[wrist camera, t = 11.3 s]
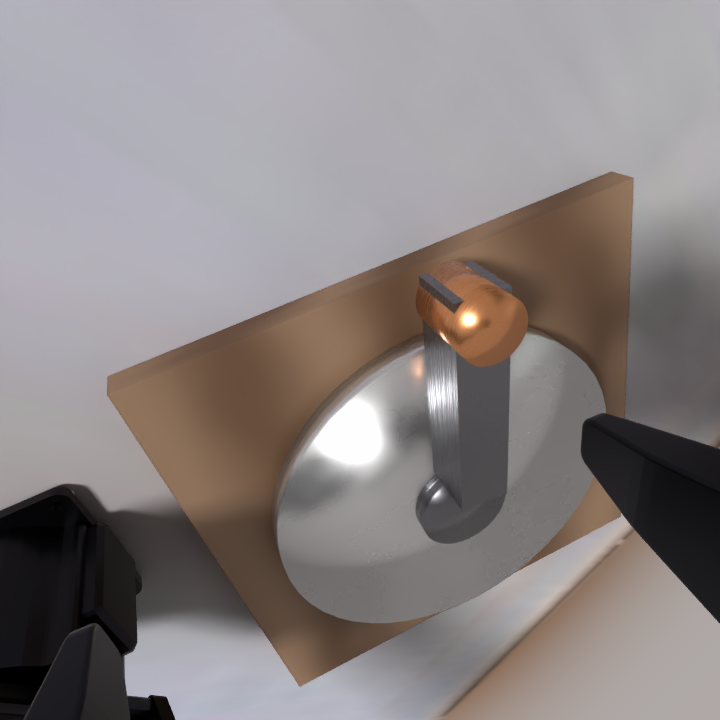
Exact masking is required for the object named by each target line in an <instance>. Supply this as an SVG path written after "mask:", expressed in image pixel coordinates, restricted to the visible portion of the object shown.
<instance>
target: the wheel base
mask: <svg viewBox="0 0 720 720" xmlns="http://www.w3.org/2000/svg"><path fill="white" fill-rule="evenodd" d="M632 204H633V178H632V177H629V176H625V175H622V174H618V173H615V172H609V173H607V174H604V175H602V176H600V177H597V178H595V179H592V180H590V181H587V182H585V183H582V184H580V185H577V186H575V187H573V188H570V189H568V190H565V191H563V192H560V193H558V194H555V195H553V196H550V197H548V198H546V199H543V200H541V201H538V202H536V203H533V204H531V205H528V206H526V207H523V208H521V209H518V210H516V211H514V212H511V213H509V214H506V215H504V216H501V217H499V218H496V219H494V220H491V221H489V222H487V223H484V224H482V225H479V226H477V227H474V228H472V229H469V230H467V231H464V232H462V233H460V234H457V235H455V236H452V237H450V238H447V239H445V240H442V241H440V242H437V243H435V244H433V245H430V246H428V247H425V248H423V249H420V250H418V251H415V252H413V253H410V254H408V255H406V256H403V257H401V258H398V259H396V260H393V261H391V262H388V263H386V264H383V265H381V266H378V267H376V268H374V269H371V270H369V271H366V272H364V273H361V274H359V275H356V276H354V277H351V278H349V279H347V280H344V281H342V282H339V283H337V284H334V285H332V286H329V287H327V288H324V289H322V290H320V291H317V292H315V293H312V294H310V295H307V296H305V297H302V298H300V299H297V300H295V301H293V302H290V303H288V304H285V305H283V306H280V307H278V308H275V309H273V310H270V311H268V312H265V313H263V314H261V315H258V316H256V317H253V318H251V319H248V320H246V321H243V322H241V323H238V324H236V325H234V326H231V327H229V328H226V329H224V330H221V331H219V332H216V333H214V334H211V335H209V336H207V337H204V338H202V339H199V340H197V341H194V342H192V343H189V344H187V345H184V346H182V347H180V348H177V349H175V350H172V351H170V352H167V353H165V354H162V355H160V356H157V357H155V358H152V359H150V360H148V361H145V362H143V363H140V364H138V365H135V366H133V367H130V368H128V369H125V370H123V371H121V372H118V373H116V374H113V375H111V376H108V381H107V395H108V397H109V399H110V400H111V402H112V403H113V405H114V406H115V408H116V409H117V411H118V412H119V414H120V415H121V417H122V418H123V420H124V421H125V423H126V424H127V426H128V427H129V429H130V430H131V432H132V433H133V435H134V436H135V438H136V439H137V441H138V442H139V444H140V445H141V447H142V449H143V450H144V452H145V453H146V455H147V456H148V458H149V459H150V461H151V462H152V464H153V465H154V467H155V468H156V470H157V471H158V473H159V474H160V476H161V477H162V479H163V480H164V482H165V483H166V485H167V486H168V488H169V489H170V491H171V492H172V494H173V496H174V497H175V499H176V500H177V502H178V503H179V505H180V506H181V508H182V509H183V511H184V512H185V514H186V515H187V517H188V518H189V520H190V521H191V523H192V524H193V526H194V527H195V529H196V530H197V532H198V533H199V535H200V536H201V538H202V539H203V541H204V542H205V544H206V546H207V547H208V549H209V550H210V552H211V553H212V555H213V556H214V558H215V559H216V561H217V562H218V564H219V565H220V567H221V568H222V570H223V571H224V573H225V574H226V576H227V577H228V579H229V580H230V582H231V583H232V585H233V586H234V588H235V589H236V591H237V593H238V594H239V596H240V597H241V599H242V600H243V602H244V603H245V605H246V606H247V608H248V609H249V611H250V612H251V614H252V615H253V617H254V618H255V620H256V621H257V623H258V624H259V626H260V627H261V629H262V630H263V632H264V633H265V635H266V636H267V638H268V640H269V641H270V643H271V644H272V646H273V647H274V649H275V650H276V652H277V653H278V655H279V656H280V658H281V659H282V661H283V662H284V664H285V665H286V667H287V668H288V670H289V671H290V673H291V674H292V676H293V677H294V679H295V680H296V682H297V683H298V685H299V686H302V685H304V684H306V683H308V682H310V681H311V680H313V679H315V678H317V677H319V676H321V675H323V674H325V673H327V672H328V671H330V670H332V669H334V668H336V667H338V666H340V665H342V664H343V663H345V662H347V661H349V660H351V659H353V658H355V657H357V656H359V655H360V654H362V653H364V652H366V651H368V650H370V649H372V648H374V647H376V646H377V645H379V644H381V643H383V642H385V641H387V640H389V639H391V638H392V637H394V636H396V635H398V634H400V633H402V632H404V631H406V630H408V629H409V628H411V627H413V626H415V625H417V624H419V623H421V622H423V621H425V620H426V619H428V618H430V617H432V616H434V615H436V614H438V613H436V614H433V615H429V616H426V617H422V618H417V619H413V620H408V621H401V622H393V623H363V622H354V621H350V620H346V619H341V618H338V617H335V616H333V615H330V614H328V613H325V612H323V611H322V610H320V609H318V608H317V607H315V606H314V605H312V604H310V603H309V602H308V601H307V600H306V599H305V598H304V597H303V596H302V595H301V594H300V593H299V592H298V591H297V590H296V588H295V587H294V585H293V584H292V583H291V581H290V580H289V577H288V575H287V573H286V570H285V568H284V566H283V563H282V560H281V557H280V553H279V550H278V547H277V544H276V539H275V535H274V530H273V519H272V506H273V499H274V492H275V486H276V483H277V480H278V476H279V473H280V470H281V466H282V464H283V462H284V460H285V458H286V456H287V453H288V451H289V449H290V447H291V445H292V443H293V442H294V440H295V438H296V437H297V435H298V434H299V432H300V430H301V429H302V427H303V426H304V424H305V423H306V421H307V420H308V419H309V418H310V416H311V415H312V414H313V413H314V411H315V410H316V409H317V408H318V406H319V405H320V404H321V403H322V402H323V401H324V400H325V399H326V398H327V397H328V396H329V395H330V394H331V393H332V392H333V391H334V390H335V389H336V388H337V387H338V386H339V385H340V384H341V383H342V382H343V381H344V380H346V379H347V378H348V377H349V376H351V375H352V374H353V373H354V372H356V371H357V370H358V369H359V368H360V367H362V366H363V365H365V364H366V363H368V362H369V361H371V360H372V359H374V358H375V357H377V356H379V355H380V354H382V353H383V352H385V351H387V350H388V349H390V348H392V347H394V346H396V345H398V344H400V343H402V342H404V341H406V340H408V339H410V338H413V337H416V336H418V335H421V334H423V324H422V319H421V317H420V316H419V314H418V312H417V309H416V293H417V290H418V287H419V276H420V275H423V274H427V273H429V272H430V271H431V270H432V269H433V268H435V267H436V266H438V265H440V264H443V263H446V262H452V261H455V262H461V263H465V262H469V261H473V262H475V263H476V264H478V265H479V266H481V267H483V268H484V269H486V270H487V271H489V272H490V273H492V274H494V275H495V276H497V277H498V278H500V279H501V280H503V281H504V282H506V283H508V284H509V285H511V286H512V295H513V296H514V297H516V298H517V299H519V300H520V301H521V302H522V303H523V304H524V306H525V308H526V310H527V313H528V327H531V328H533V329H536V330H539V331H541V332H543V333H545V334H546V335H548V336H550V337H552V338H553V339H555V340H556V341H558V342H559V343H561V344H562V345H564V346H565V347H566V348H568V349H569V350H571V351H572V352H574V353H575V354H576V355H577V356H578V357H579V358H580V359H581V360H583V361H584V362H585V363H586V364H587V366H588V367H589V368H590V370H591V371H592V372H593V374H594V375H595V377H596V379H597V381H598V383H599V385H600V388H601V390H602V393H603V397H604V401H605V405H606V413H607V414H611V415H614V416H617V417H620V418H624V415H625V389H626V362H627V336H628V310H629V283H630V257H631V230H632ZM619 517H621V512H620V510H619V509H618V507H617V506H616V505H615V503H614V502H613V501H612V499H611V498H610V497H609V495H608V494H607V493H606V491H605V490H604V489H603V487H602V486H601V485H600V483H599V482H598V480H597V479H596V478H595V476H594V477H593V479H592V481H591V484H590V486H589V488H588V490H587V491H586V493H585V495H584V497H583V498H582V500H581V502H580V504H579V505H578V506H577V508H576V509H575V511H574V512H573V514H572V515H571V517H570V518H569V519H568V521H567V522H566V523H565V524H564V526H563V527H562V528H561V529H560V530H559V532H558V533H557V534H556V535H555V536H554V537H553V538H552V539H551V540H550V541H549V543H548V544H547V545H546V546H545V547H544V548H543V549H542V550H541V551H540V552H538V553H537V554H536V555H535V556H534V557H533V558H532V559H531V560H530V561H529V562H527V563H526V564H525V565H524V566H522V567H521V568H520V569H518V570H517V571H519V570H521V569H523V568H524V567H526V566H528V565H530V564H532V563H534V562H536V561H538V560H540V559H541V558H543V557H545V556H547V555H549V554H551V553H553V552H555V551H557V550H558V549H560V548H562V547H564V546H566V545H568V544H570V543H572V542H573V541H575V540H577V539H579V538H581V537H583V536H585V535H587V534H589V533H590V532H592V531H594V530H596V529H598V528H600V527H602V526H604V525H606V524H607V523H609V522H611V521H613V520H615V519H617V518H619ZM517 571H516V572H517ZM439 613H440V612H439Z"/></svg>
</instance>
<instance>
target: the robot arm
mask: <svg viewBox="0 0 720 720" xmlns="http://www.w3.org/2000/svg"><path fill="white" fill-rule="evenodd" d="M580 451H581V456H582V459H583V461H584V463H585V464H586V466H587V467H588V468H589V470H590V471H591V472H592V474H593V475H594V476H595V478H596V479H597V480H598V482H599V483H600V485H601V486H602V487H603V489H604V490H605V491H606V493H607V494H608V495H609V497H610V498H611V499H612V501H613V502H614V503H615V505H616V506H617V507H618V509H619V510H620V512H621V513H622V514H623V516H624V517H625V518H626V519H627V521H628V522H629V523H630V525H631V526H632V527H633V528H634V529H635V531H636V532H637V533H638V534H639V535H640V536H641V537H642V539H643V540H644V541H645V542H646V543H647V544H648V545H649V546H650V547H651V548H652V550H653V551H654V552H655V553H656V554H657V555H658V556H659V557H660V558H661V559H662V561H663V562H664V563H665V564H666V565H667V566H668V567H669V568H670V569H671V570H672V572H673V573H674V574H675V575H676V576H677V577H678V578H679V579H680V580H681V581H682V582H683V584H684V585H685V586H686V587H687V588H688V589H689V590H690V591H691V592H692V593H693V595H694V596H695V597H696V598H697V599H698V600H699V601H700V602H701V603H702V604H703V606H704V607H705V608H706V609H707V610H708V611H709V612H710V613H711V614H712V615H713V617H714V618H715V619H716V620H717V621H718V622H719V623H720V449H718V448H715V447H712V446H709V445H706V444H703V443H699V442H696V441H693V440H690V439H687V438H684V437H680V436H677V435H674V434H671V433H668V432H665V431H662V430H658V429H655V428H652V427H649V426H646V425H643V424H639V423H636V422H633V421H630V420H627V419H624V418H620V417H617V416H614V415H611V414H607V413H600V414H597V415H595V416H593V417H590V418H588V419H586V420H585V421H584V422H583V425H582V436H581V449H580ZM55 500H62V501H64V502H62V503H54V502H53V501H55ZM141 589H142V579H141V576H140V575H139V574H138V573H137V571H136V570H135V562H134V559H133V558H132V557H131V556H130V554H129V553H128V552H127V551H126V549H125V548H124V547H123V546H122V544H121V543H120V542H119V541H118V539H117V538H116V537H115V536H114V534H113V533H112V532H111V531H110V529H109V528H108V527H107V526H106V525H105V524H102V523H100V522H98V523H97V522H96V521H95V520H94V518H93V517H92V516H91V515H90V513H89V512H88V511H87V510H86V509H85V507H84V506H83V505H82V504H81V502H80V501H79V500H78V499H77V498H76V496H75V495H74V494H73V493H72V492H71V491H70V490H69V489H66V488H63V487H57V488H53V489H50V490H48V491H45V492H43V493H41V494H39V495H36V496H34V497H32V498H29V499H27V500H25V501H22V502H20V503H18V504H15V505H13V506H11V507H9V508H6V509H4V510H2V511H0V720H175V717H174V715H173V712H172V710H171V707H170V705H169V702H168V699H167V698H166V697H164V696H155V695H150V696H149V697H148V698H145V697H136V696H127V692H126V685H125V666H124V656H125V655H127V654H129V653H131V652H133V651H134V649H135V647H136V644H137V617H136V595H137V594H138V593H139V592H140V591H141Z"/></svg>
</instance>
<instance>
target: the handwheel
mask: <svg viewBox="0 0 720 720" xmlns="http://www.w3.org/2000/svg"><path fill="white" fill-rule="evenodd" d="M416 309H417V312H418V314H419V316H420V317H421V319H422V324H423V334H421V335H418V336H416V337H413V338H410V339H408V340H406V341H404V342H402V343H400V344H398V345H396V346H394V347H392V348H390V349H388V350H387V351H385V352H383V353H382V354H380V355H379V356H377V357H375V358H374V359H372V360H371V361H369V362H368V363H366V364H365V365H363V366H362V367H360V368H359V369H358V370H357V371H356V372H354V373H353V374H352V375H351V376H349V377H348V378H347V379H346V380H344V381H343V382H342V383H341V384H340V385H339V386H338V387H337V388H336V389H335V390H334V391H333V392H332V393H331V394H330V395H329V396H328V397H327V398H326V399H325V400H324V401H323V402H322V403H321V404H320V405H319V406H318V408H317V409H316V410H315V411H314V413H313V414H312V415H311V416H310V418H309V419H308V420H307V421H306V423H305V424H304V426H303V427H302V429H301V430H300V432H299V434H298V435H297V437H296V438H295V440H294V442H293V443H292V445H291V447H290V449H289V451H288V453H287V456H286V458H285V460H284V462H283V464H282V466H281V470H280V473H279V476H278V480H277V483H276V486H275V492H274V499H273V506H272V519H273V530H274V535H275V539H276V544H277V547H278V550H279V553H280V557H281V560H282V563H283V566H284V568H285V570H286V573H287V575H288V577H289V580H290V581H291V583H292V584H293V585H294V587H295V588H296V590H297V591H298V592H299V593H300V594H301V595H302V596H303V597H304V598H305V599H306V600H307V601H308V602H309V603H310V604H312V605H314V606H315V607H317V608H318V609H320V610H322V611H323V612H325V613H328V614H330V615H333V616H335V617H338V618H341V619H346V620H350V621H354V622H363V623H393V622H401V621H408V620H413V619H417V618H422V617H426V616H429V615H433V614H436V613H439V612H442V611H445V610H448V609H450V608H453V607H455V606H458V605H460V604H462V603H464V602H466V601H468V600H470V599H473V598H475V597H477V596H479V595H480V594H482V593H484V592H486V591H487V590H489V589H491V588H492V587H494V586H496V585H497V584H499V583H500V582H502V581H503V580H505V579H506V578H508V577H509V576H511V575H512V574H513V573H515V572H516V571H517V570H518V569H520V568H521V567H522V566H524V565H525V564H526V563H527V562H529V561H530V560H531V559H532V558H533V557H534V556H535V555H536V554H537V553H538V552H540V551H541V550H542V549H543V548H544V547H545V546H546V545H547V544H548V543H549V541H550V540H551V539H552V538H553V537H554V536H555V535H556V534H557V533H558V532H559V530H560V529H561V528H562V527H563V526H564V524H565V523H566V522H567V521H568V519H569V518H570V517H571V515H572V514H573V512H574V511H575V509H576V508H577V506H578V505H579V504H580V502H581V500H582V498H583V497H584V495H585V493H586V491H587V490H588V488H589V486H590V484H591V481H592V479H593V477H594V475H593V474H592V472H591V471H590V470H589V468H588V467H587V466H586V464H585V463H584V461H583V459H582V456H581V451H580V449H581V436H582V425H583V422H584V421H585V420H586V419H588V418H590V417H593V416H595V415H597V414H600V413H606V405H605V401H604V397H603V393H602V390H601V388H600V385H599V383H598V381H597V379H596V377H595V375H594V374H593V372H592V371H591V370H590V368H589V367H588V366H587V364H586V363H585V362H584V361H583V360H581V359H580V358H579V357H578V356H577V355H576V354H575V353H574V352H572V351H571V350H569V349H568V348H566V347H565V346H564V345H562V344H561V343H559V342H558V341H556V340H555V339H553V338H552V337H550V336H548V335H546V334H545V333H543V332H541V331H539V330H536V329H533V328H531V327H528V313H527V310H526V308H525V306H524V304H523V303H522V302H521V301H520V300H519V299H517V298H516V297H514V296H513V295H512V286H511V285H509V284H508V283H506V282H504V281H503V280H501V279H500V278H498V277H497V276H495V275H494V274H492V273H490V272H489V271H487V270H486V269H484V268H483V267H481V266H479V265H478V264H476V263H475V262H473V261H469V262H465V263H461V262H455V261H452V262H446V263H443V264H440V265H438V266H436V267H435V268H433V269H432V270H431V271H430V272H429V273H427V274H423V275H420V276H419V287H418V290H417V293H416Z"/></svg>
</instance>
